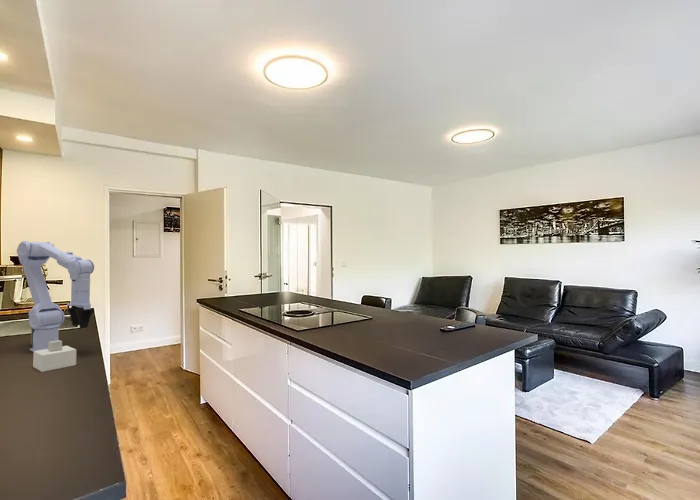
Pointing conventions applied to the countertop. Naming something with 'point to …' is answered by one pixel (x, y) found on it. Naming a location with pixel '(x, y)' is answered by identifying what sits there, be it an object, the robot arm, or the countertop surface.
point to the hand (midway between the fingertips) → (79, 326)
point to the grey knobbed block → (54, 357)
